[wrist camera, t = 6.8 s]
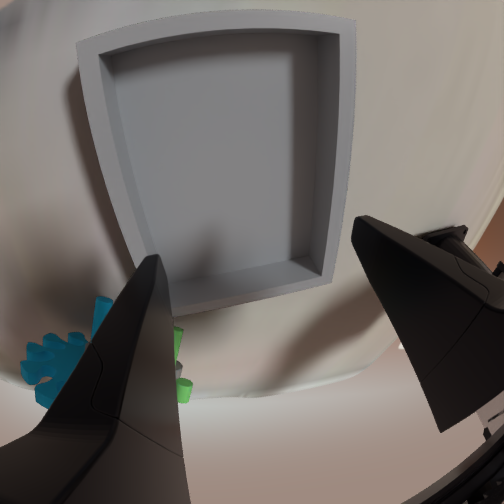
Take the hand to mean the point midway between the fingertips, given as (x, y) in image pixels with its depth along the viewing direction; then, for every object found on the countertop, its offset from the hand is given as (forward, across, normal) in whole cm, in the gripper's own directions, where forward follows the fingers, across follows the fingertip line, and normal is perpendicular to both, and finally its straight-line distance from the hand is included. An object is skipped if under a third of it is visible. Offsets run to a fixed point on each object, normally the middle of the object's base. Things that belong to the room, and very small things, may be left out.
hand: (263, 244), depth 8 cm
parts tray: (+6, 0, 0) cm, 6 cm away
